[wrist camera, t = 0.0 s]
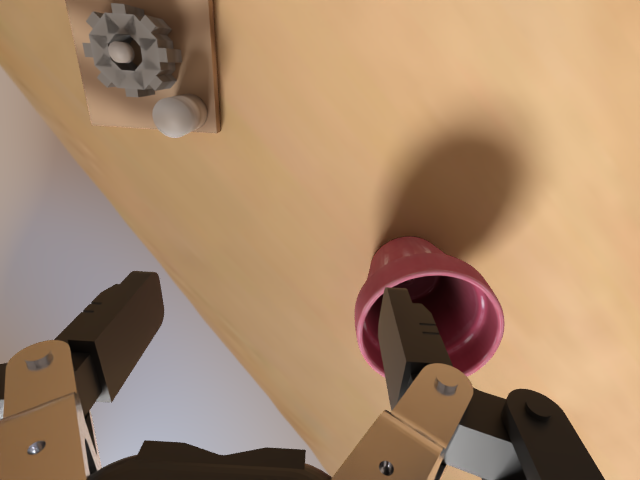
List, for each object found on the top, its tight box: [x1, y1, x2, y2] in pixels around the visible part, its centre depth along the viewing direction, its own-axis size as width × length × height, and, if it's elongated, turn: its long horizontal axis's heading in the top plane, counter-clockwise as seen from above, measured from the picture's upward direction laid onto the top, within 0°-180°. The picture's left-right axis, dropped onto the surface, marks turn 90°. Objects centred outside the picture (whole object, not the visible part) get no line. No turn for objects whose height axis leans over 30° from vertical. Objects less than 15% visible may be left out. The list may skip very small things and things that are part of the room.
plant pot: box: [355, 236, 504, 377], centre depth 40 cm, size 14×14×13 cm
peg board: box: [65, 0, 221, 138], centre depth 31 cm, size 21×13×6 cm, turn 177°
